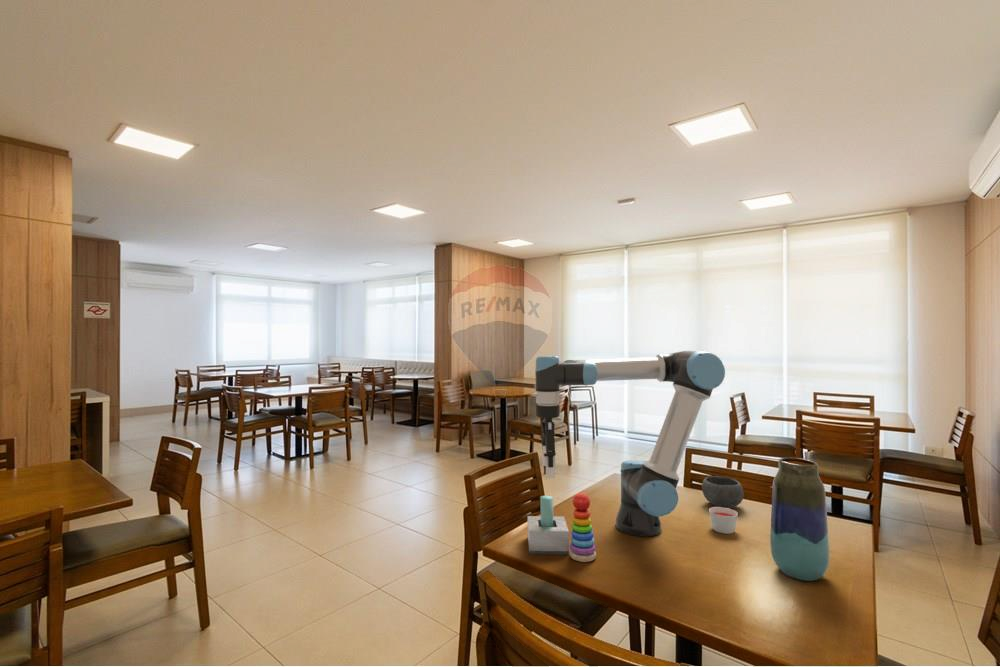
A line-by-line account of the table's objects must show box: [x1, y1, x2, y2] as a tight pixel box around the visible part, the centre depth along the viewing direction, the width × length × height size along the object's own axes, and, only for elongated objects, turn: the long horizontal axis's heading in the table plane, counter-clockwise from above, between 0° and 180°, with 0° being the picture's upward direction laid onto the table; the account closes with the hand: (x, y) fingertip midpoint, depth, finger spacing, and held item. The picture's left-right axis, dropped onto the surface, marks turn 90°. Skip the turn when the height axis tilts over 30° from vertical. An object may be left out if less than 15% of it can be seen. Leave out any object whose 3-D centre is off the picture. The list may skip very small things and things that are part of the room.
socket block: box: [527, 515, 570, 556], centre depth 145 cm, size 12×12×7 cm
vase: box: [770, 457, 831, 582], centre depth 128 cm, size 14×14×31 cm
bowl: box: [701, 475, 745, 509], centre depth 181 cm, size 15×15×10 cm
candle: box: [708, 506, 739, 535], centre depth 158 cm, size 9×9×6 cm
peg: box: [539, 495, 554, 527], centre depth 145 cm, size 4×4×14 cm
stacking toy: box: [569, 492, 597, 563], centre depth 137 cm, size 8×8×19 cm
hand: (548, 471), depth 145 cm, fingers open, 13 cm apart
